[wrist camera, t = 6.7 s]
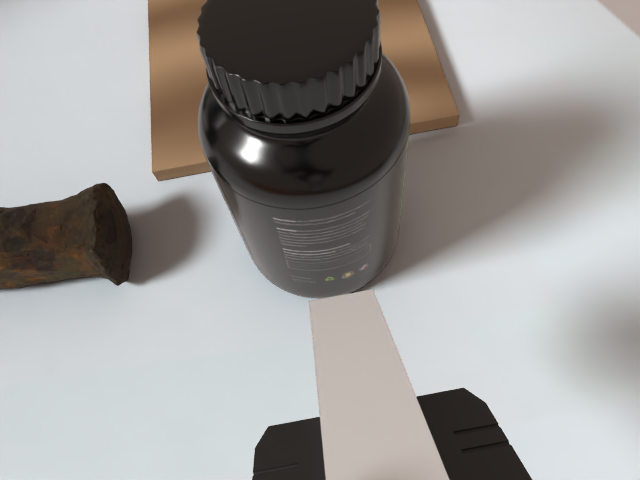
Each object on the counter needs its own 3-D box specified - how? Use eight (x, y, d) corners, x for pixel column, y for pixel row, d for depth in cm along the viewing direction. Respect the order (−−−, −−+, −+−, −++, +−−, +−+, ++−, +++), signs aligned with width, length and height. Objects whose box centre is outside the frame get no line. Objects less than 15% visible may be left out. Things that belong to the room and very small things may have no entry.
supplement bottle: (423, 204, 25) (465, -33, 14) (353, 330, 22) (339, 161, 12) (296, 150, 27) (248, -93, 16) (219, 260, 24) (101, 61, 14)
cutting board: (457, 125, 26) (459, 114, 26) (157, 181, 26) (152, 171, 26) (372, -107, 36) (372, -120, 35) (150, -67, 36) (146, -78, 35)
